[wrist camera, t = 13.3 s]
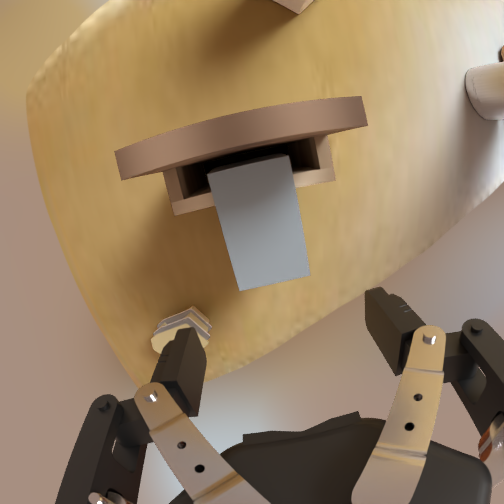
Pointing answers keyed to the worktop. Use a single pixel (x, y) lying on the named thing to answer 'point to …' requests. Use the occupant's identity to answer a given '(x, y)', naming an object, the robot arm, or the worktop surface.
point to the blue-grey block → (260, 220)
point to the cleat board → (243, 146)
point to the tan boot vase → (502, 53)
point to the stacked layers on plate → (179, 321)
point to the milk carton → (295, 4)
